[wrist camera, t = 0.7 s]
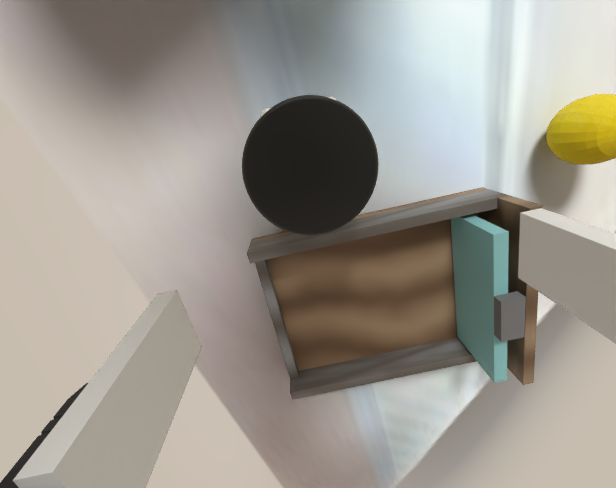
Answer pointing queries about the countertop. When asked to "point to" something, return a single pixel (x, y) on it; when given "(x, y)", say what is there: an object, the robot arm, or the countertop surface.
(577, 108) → the fruit
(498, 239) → the panel
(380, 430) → the countertop surface
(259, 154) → the jar
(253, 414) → the countertop surface
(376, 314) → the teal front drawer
